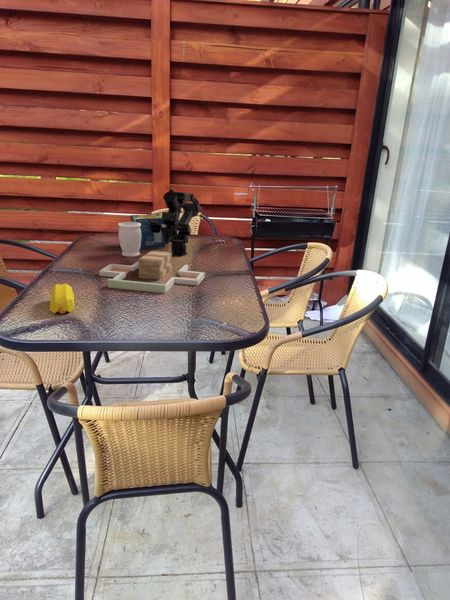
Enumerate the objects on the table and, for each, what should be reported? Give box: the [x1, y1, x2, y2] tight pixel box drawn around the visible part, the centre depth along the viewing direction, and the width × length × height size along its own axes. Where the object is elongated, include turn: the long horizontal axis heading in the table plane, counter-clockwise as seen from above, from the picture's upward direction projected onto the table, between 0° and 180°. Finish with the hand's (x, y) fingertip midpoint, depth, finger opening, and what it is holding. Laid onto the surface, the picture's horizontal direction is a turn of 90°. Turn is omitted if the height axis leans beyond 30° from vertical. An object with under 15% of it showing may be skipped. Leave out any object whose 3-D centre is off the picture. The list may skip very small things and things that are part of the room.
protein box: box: [130, 213, 166, 250], centre depth 229 cm, size 10×15×16 cm
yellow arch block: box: [49, 283, 75, 315], centre depth 152 cm, size 18×7×8 cm
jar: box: [117, 221, 141, 258], centre depth 213 cm, size 11×10×15 cm
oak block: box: [137, 249, 173, 281], centre depth 189 cm, size 15×9×8 cm, turn 167°
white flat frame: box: [98, 260, 206, 294], centre depth 184 cm, size 32×42×3 cm
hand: (165, 244), depth 199 cm, fingers closed
